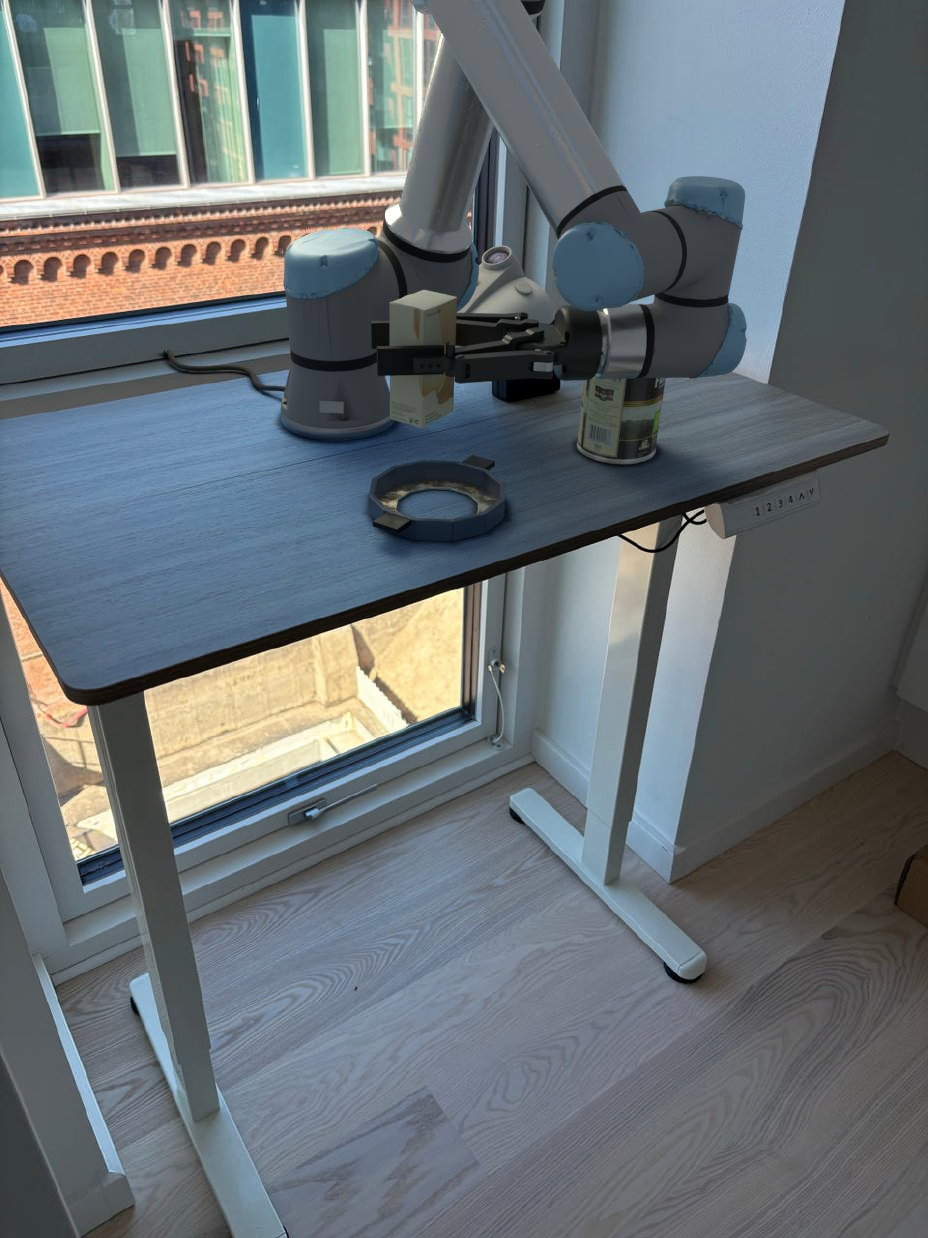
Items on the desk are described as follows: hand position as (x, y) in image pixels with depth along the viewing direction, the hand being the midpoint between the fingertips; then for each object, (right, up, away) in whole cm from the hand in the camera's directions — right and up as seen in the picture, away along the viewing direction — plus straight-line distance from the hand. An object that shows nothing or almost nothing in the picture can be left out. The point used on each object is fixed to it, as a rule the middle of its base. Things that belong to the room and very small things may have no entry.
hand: (374, 347), depth 97 cm
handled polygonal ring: (+6, -15, +13) cm, 21 cm away
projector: (+11, +17, +60) cm, 63 cm away
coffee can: (+29, -5, +28) cm, 41 cm away
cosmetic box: (+5, -6, +5) cm, 9 cm away
